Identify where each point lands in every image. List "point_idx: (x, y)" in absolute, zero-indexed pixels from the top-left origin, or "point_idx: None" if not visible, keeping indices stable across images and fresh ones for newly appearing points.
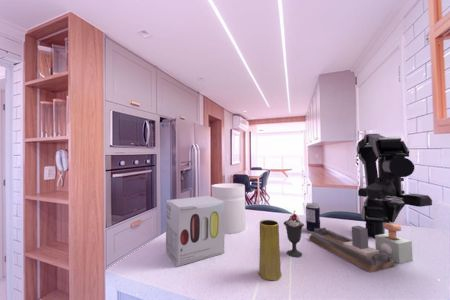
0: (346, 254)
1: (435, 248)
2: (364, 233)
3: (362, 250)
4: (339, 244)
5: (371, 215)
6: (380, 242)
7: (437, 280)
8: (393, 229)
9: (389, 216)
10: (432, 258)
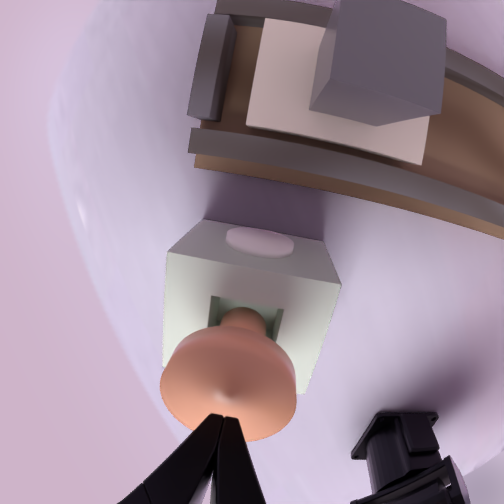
0: None
1: None
2: (329, 50)
3: (301, 34)
4: None
5: (425, 491)
6: (298, 262)
7: (80, 201)
8: (189, 339)
9: (217, 461)
10: None
